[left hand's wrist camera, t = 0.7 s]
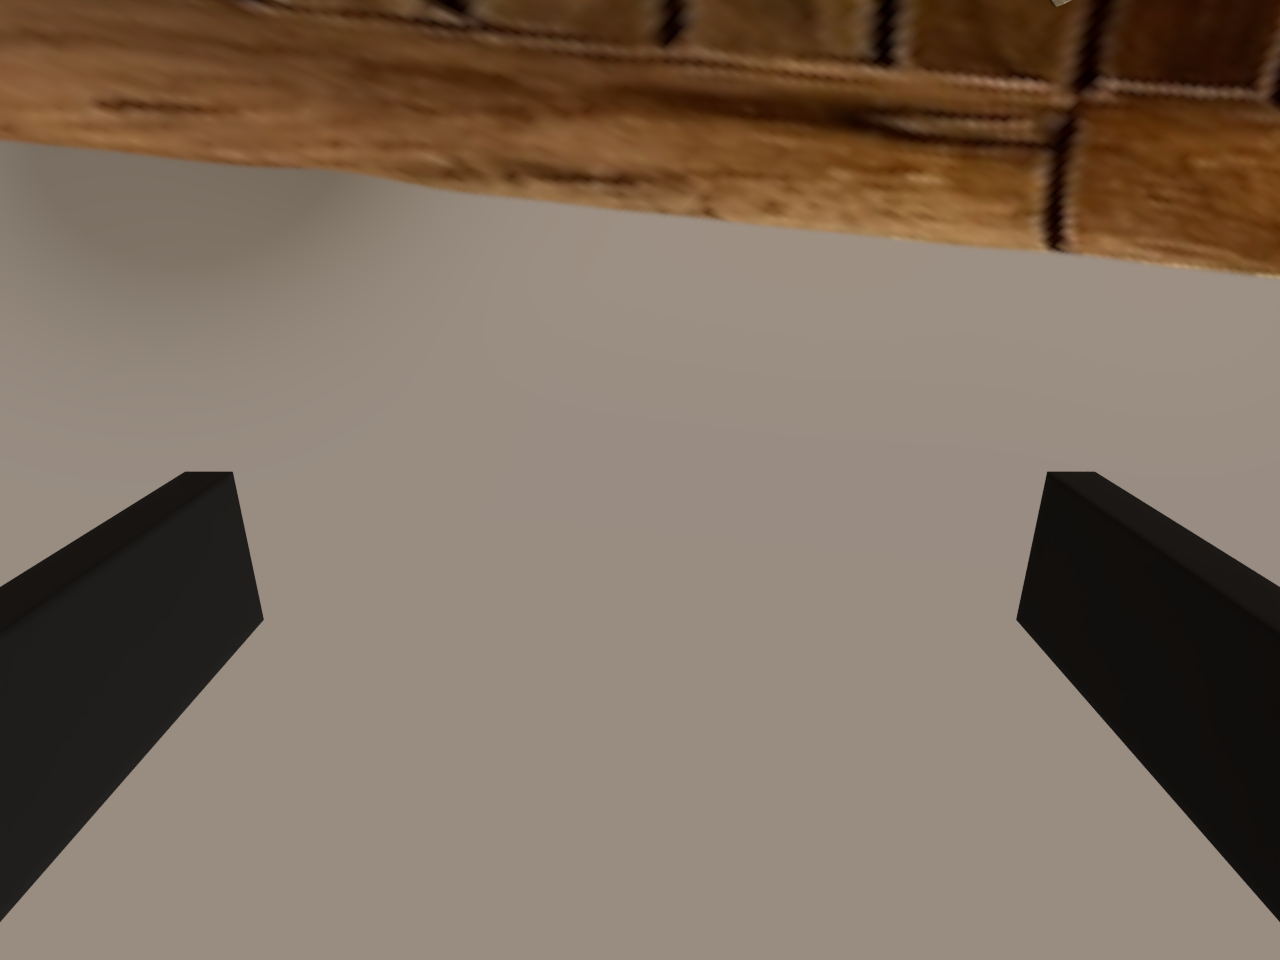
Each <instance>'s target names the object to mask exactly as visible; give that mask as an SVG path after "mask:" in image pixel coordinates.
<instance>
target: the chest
mask: <svg viewBox="0 0 1280 960" xmlns="http://www.w3.org/2000/svg"><path fill="white" fill-rule="evenodd" d="M1069 1H1071V0H1052V2H1053V3H1054V4H1055V6H1056V7H1057V6H1060V5H1062V4H1064V3H1066V2H1069Z"/></svg>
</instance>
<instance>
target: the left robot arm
mask: <svg viewBox="0 0 1280 960" xmlns="http://www.w3.org/2000/svg"><path fill="white" fill-rule="evenodd" d="M263 620H264V619H263V614H262V609H261V604H260V599H259V595H258V590H257V585H256V580H255V576H254V571H253V566H252V561H251V557H250V552H249V547H248V542H247V538H246V533H245V528H244V523H243V518H242V514H241V509H240V504H239V499H238V495H237V490H236V485H235V480H234V475H233V472H184V473H182V474H181V475H179V476H177V477H176V478H174V479H173V480H171V481H169V482H168V483H166V484H165V485H163V486H161V487H160V488H158V489H157V490H155V491H153V492H152V493H150V494H149V495H147V496H145V497H144V498H142V499H141V500H139V501H137V502H136V503H134V504H133V505H131V506H129V507H128V508H126V509H125V510H123V511H121V512H120V513H118V514H117V515H115V516H113V517H112V518H110V519H108V520H107V521H105V522H104V523H102V524H100V525H99V526H97V527H96V528H94V529H93V530H91V531H89V532H88V533H86V534H84V535H83V536H81V537H80V538H78V539H76V540H75V541H73V542H72V543H70V544H68V545H67V546H65V547H64V548H62V549H60V550H59V551H57V552H56V553H54V554H52V555H51V556H49V557H48V558H46V559H44V560H43V561H41V562H40V563H38V564H36V565H35V566H33V567H32V568H30V569H28V570H27V571H25V572H24V573H22V574H20V575H19V576H17V577H15V578H14V579H12V580H11V581H9V582H7V583H6V584H4V585H3V586H1V587H0V922H1V920H2V919H3V918H4V917H5V916H6V915H7V914H8V912H9V911H10V910H11V909H12V908H13V907H14V906H15V904H16V903H17V902H18V901H19V900H20V899H21V897H22V896H23V895H24V894H25V893H26V892H27V891H28V889H29V888H30V887H31V886H32V885H33V884H34V882H35V881H36V880H37V879H38V878H39V877H40V876H41V875H42V873H43V872H44V871H45V870H46V869H47V868H48V866H49V865H50V864H51V863H52V862H53V861H54V860H55V858H56V857H57V856H58V855H59V854H60V853H61V852H62V850H63V849H64V848H65V847H66V846H67V845H68V844H69V842H70V841H71V840H72V839H73V838H74V837H75V835H76V834H77V833H78V832H79V831H80V830H81V829H82V828H83V826H84V825H85V824H86V823H87V822H88V821H89V819H90V818H91V817H92V816H93V815H94V814H95V813H96V811H97V810H98V809H99V808H100V807H101V806H102V805H103V803H104V802H105V801H106V800H107V799H108V798H109V797H110V795H111V794H112V793H113V792H114V791H115V790H116V789H117V787H118V786H119V785H120V784H121V783H122V782H123V781H124V779H125V778H126V777H127V776H128V775H129V774H130V772H131V771H132V770H133V769H134V768H135V767H136V766H137V764H138V763H139V762H140V761H141V760H142V759H143V757H144V756H145V755H146V754H147V753H148V752H149V751H150V750H151V748H152V747H153V746H154V745H155V744H156V743H157V741H158V740H159V739H160V738H161V737H162V736H163V735H164V733H165V732H166V731H167V730H168V729H169V728H170V727H171V725H172V724H173V723H174V722H175V721H176V720H177V719H178V717H179V716H180V715H181V714H182V713H183V712H184V711H185V709H186V708H187V707H188V706H189V705H190V704H191V702H192V701H193V700H194V699H195V698H196V697H197V696H198V694H199V693H200V692H201V691H202V690H203V689H204V688H205V686H206V685H207V684H208V683H209V682H210V681H211V680H212V678H213V677H214V676H215V675H216V674H217V673H218V672H219V670H220V669H221V668H222V667H223V666H224V665H225V664H226V662H227V661H228V660H229V659H230V658H231V657H232V656H233V654H234V653H235V652H236V651H237V650H238V649H239V647H240V646H241V645H242V644H243V643H244V642H245V641H246V639H247V638H248V637H249V636H250V635H251V634H252V632H253V631H254V630H255V629H256V628H257V627H258V626H259V625H260V623H261V622H262V621H263ZM1016 620H1017V621H1018V622H1019V623H1020V624H1021V626H1022V627H1023V628H1024V629H1025V630H1026V631H1027V633H1028V634H1029V635H1030V636H1031V637H1032V638H1033V639H1034V641H1035V642H1036V643H1037V644H1038V645H1039V646H1040V647H1041V649H1042V650H1043V651H1044V652H1045V653H1046V654H1047V655H1048V657H1049V658H1050V659H1051V660H1052V661H1053V662H1054V664H1055V665H1056V666H1057V667H1058V668H1059V669H1060V670H1061V672H1062V673H1063V674H1064V675H1065V676H1066V677H1067V678H1068V680H1069V681H1070V682H1071V683H1072V684H1073V685H1074V686H1075V688H1076V689H1077V690H1078V691H1079V692H1080V693H1081V694H1082V696H1083V697H1084V698H1085V699H1086V700H1087V701H1088V703H1089V704H1090V705H1091V706H1092V707H1093V708H1094V709H1095V711H1096V712H1097V713H1098V714H1099V715H1100V716H1101V717H1102V719H1103V720H1104V721H1105V722H1106V723H1107V724H1108V725H1109V727H1110V728H1111V729H1112V730H1113V731H1114V732H1115V733H1116V735H1117V736H1118V737H1119V738H1120V739H1121V740H1122V741H1123V743H1124V744H1125V745H1126V746H1127V747H1128V748H1129V750H1130V751H1131V752H1132V753H1133V754H1134V755H1135V756H1136V758H1137V759H1138V760H1139V761H1140V762H1141V763H1142V764H1143V766H1144V767H1145V768H1146V769H1147V770H1148V771H1149V772H1150V774H1151V775H1152V776H1153V777H1154V778H1155V779H1156V780H1157V782H1158V783H1159V784H1160V785H1161V786H1162V787H1163V789H1164V790H1165V791H1166V792H1167V793H1168V794H1169V795H1170V797H1171V798H1172V799H1173V800H1174V801H1175V802H1176V803H1177V805H1178V806H1179V807H1180V808H1181V809H1182V810H1183V811H1184V813H1185V814H1186V815H1187V816H1188V817H1189V818H1190V819H1191V821H1192V822H1193V823H1194V824H1195V825H1196V826H1197V828H1198V829H1199V830H1200V831H1201V832H1202V833H1203V834H1204V836H1205V837H1206V838H1207V839H1208V840H1209V841H1210V842H1211V844H1212V845H1213V846H1214V847H1215V848H1216V849H1217V850H1218V852H1219V853H1220V854H1221V855H1222V856H1223V857H1224V858H1225V860H1226V861H1227V862H1228V863H1229V864H1230V865H1231V866H1232V868H1233V869H1234V870H1235V871H1236V872H1237V873H1238V875H1239V876H1240V877H1241V878H1242V879H1243V880H1244V881H1245V883H1246V884H1247V885H1248V886H1249V887H1250V888H1251V889H1252V891H1253V892H1254V893H1255V894H1256V895H1257V896H1258V897H1259V899H1260V900H1261V901H1262V902H1263V903H1264V904H1265V905H1266V907H1267V908H1268V909H1269V910H1270V911H1271V912H1272V913H1273V915H1274V916H1275V917H1276V918H1277V919H1278V920H1279V922H1280V587H1279V586H1277V585H1276V584H1274V583H1273V582H1271V581H1269V580H1268V579H1266V578H1265V577H1263V576H1261V575H1260V574H1258V573H1256V572H1255V571H1253V570H1252V569H1250V568H1248V567H1247V566H1245V565H1244V564H1242V563H1240V562H1239V561H1237V560H1236V559H1234V558H1232V557H1231V556H1229V555H1228V554H1226V553H1224V552H1223V551H1221V550H1220V549H1218V548H1216V547H1215V546H1213V545H1212V544H1210V543H1208V542H1207V541H1205V540H1204V539H1202V538H1200V537H1199V536H1197V535H1196V534H1194V533H1192V532H1191V531H1189V530H1188V529H1186V528H1184V527H1183V526H1181V525H1179V524H1178V523H1176V522H1175V521H1173V520H1171V519H1170V518H1168V517H1167V516H1165V515H1163V514H1162V513H1160V512H1159V511H1157V510H1155V509H1154V508H1152V507H1151V506H1149V505H1147V504H1146V503H1144V502H1143V501H1141V500H1139V499H1138V498H1136V497H1135V496H1133V495H1131V494H1130V493H1128V492H1127V491H1125V490H1123V489H1122V488H1120V487H1119V486H1117V485H1115V484H1114V483H1112V482H1110V481H1109V480H1107V479H1106V478H1104V477H1103V476H1101V475H1099V474H1098V473H1096V472H1047V475H1046V480H1045V485H1044V490H1043V495H1042V499H1041V504H1040V509H1039V514H1038V518H1037V523H1036V528H1035V533H1034V537H1033V542H1032V547H1031V552H1030V557H1029V562H1028V566H1027V571H1026V576H1025V580H1024V585H1023V590H1022V595H1021V600H1020V604H1019V609H1018V614H1017V619H1016Z"/></svg>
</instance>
